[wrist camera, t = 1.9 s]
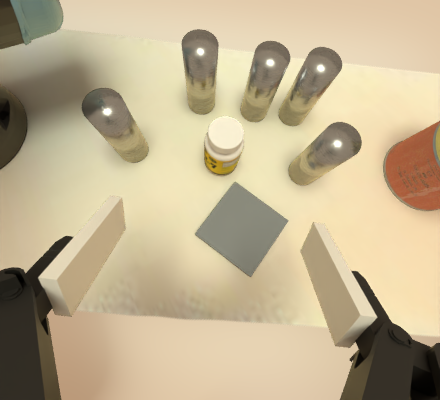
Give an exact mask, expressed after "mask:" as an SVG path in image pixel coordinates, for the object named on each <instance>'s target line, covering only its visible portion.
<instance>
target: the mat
mask: <svg viewBox="0 0 440 400" xmlns="http://www.w3.org/2000/svg"><path fill="white" fill-rule="evenodd" d="M287 222H288V220H287V219H285V218H284V217H283V216H281V215H280V214H279V213H277V212H276V211H275V210H273V209H272V208H270V207H269V206H268V205H266V204H265V203H264V202H262V201H261V200H260V199H258V198H257V197H255V196H254V195H253V194H251V193H250V192H249V191H247V190H246V189H244V188H243V187H242V186H240V185H239V184H238V183H236V182H234V184H233V185H232V186H231V187H230V189H229V190H228V191H227V193H226V194H225V195H224V197H223V198H222V199H221V200H220V202H219V203H218V204H217V206H216V207H215V208H214V210H213V211H212V212H211V213H210V215H209V216H208V217H207V219H206V220H205V221H204V223H203V224H202V225H201V226H200V228H199V229H198V230H197V232H196V233H195V235H196V236H198V237H199V238H200V239H202V240H203V241H204V242H206V243H207V244H208V245H210V246H211V247H212V248H213V249H215V250H216V251H217V252H219V253H220V254H221V255H223V256H224V257H225V258H226V259H228V260H229V261H230V262H232V263H233V264H234V265H236V266H237V267H238V268H240V269H241V270H242V271H243V272H245V273H246V274H247V275H249V276H250V277H251V276H252V274H253V273H254V271H255V270H256V268H257V267H258V265H259V264H260V262H261V261H262V259H263V258H264V256H265V255H266V254H267V252H268V251H269V249H270V248H271V246H272V245H273V243H274V242H275V240H276V239H277V237H278V236H279V234H280V233H281V231H282V230H283V228H284V227H285V225H286V224H287Z"/></svg>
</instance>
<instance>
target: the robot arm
mask: <svg viewBox="0 0 440 400" xmlns="http://www.w3.org/2000/svg"><path fill="white" fill-rule="evenodd" d="M62 22H63V11H62V8H61V5H60V2H59V0H0V49H4V48H7V47H11V46H15V45H19V44H22V43H24V44H25V45H27V44H29V43H30V42H31V40H33V39H36V38H39V37H42V36H45V35H48V34H51V33H54V32H56V31H57V30H59V29H60V28H61V25H62ZM26 129H27V118H26V113H25V110H24V108H23V106H22V104H21V103H20V101H19V100H18V99H17V98H16V97H15V96H14V95H13V94H12V93H11V92H10V91H8V90H7V89H6V88H5V87H3V86H2V85H1V84H0V168H2V167H3V166H4V165H6V164H7V163H8V162H9V161H10V160H11V159H12V158H13V157H14V155H15V154H16V153H17V151H18V150H19V148H20V147H21V145H22V143H23V140H24V138H25V134H26ZM125 229H126V227H125V219H124V210H123V202H122V197H117V196H110V197H109V198H108V199H107V200H106V201H105V202H104V203H103V204H102V206H101V207H100V208H99V209H98V210H97V211H96V212H95V214H94V215H93V216H92V217H91V218H90V219H89V220H88V222H87V223H86V224H85V225H84V226H83V227H82V228H81V229H80V231H79V232H78V233H77V234H76V235H75V236H74V237H71V236H65V237H63V238H61V239H60V240H58V241H56V242H55V243H54V244H53V245H52V246H51V247H50V249H49V251H47V252H46V253H45V254H44V255H43V257H41V258H40V259H39V260H38V261H37V262H36V263H35V264H34V265H33V266H32V267H31V268H30V269H29V270H28V272H27V273H26V274H25V272H24V270H23V269H21V268H8V269H4V270H1V271H0V400H61V396H60V389H59V383H58V377H57V371H56V365H55V358H54V352H53V346H52V340H51V334H50V328H49V321H48V318H47V314H48V313H49V311H50V310H51V309H53V311H54V313H55V315H61V316H72V315H73V313H74V312H75V310H76V308H77V307H78V305H79V304H80V302H81V300H82V299H83V297H84V295H85V294H86V292H87V291H88V289H89V287H90V286H91V284H92V283H93V281H94V279H95V278H96V276H97V274H98V273H99V271H100V270H101V268H102V266H103V265H104V263H105V262H106V260H107V258H108V257H109V255H110V253H111V252H112V250H113V249H114V247H115V245H116V244H117V242H118V240H119V239H120V237H121V236H122V234H123V232H124V231H125ZM301 254H302V256H303V259H304V262H305V265H306V267H307V270H308V273H309V276H310V278H311V281H312V284H313V286H314V289H315V292H316V295H317V297H318V300H319V303H320V306H321V308H322V311H323V314H324V317H325V319H326V322H327V325H328V328H329V330H330V333H331V336H332V338H333V341H334V344H335V346H339V347H348V348H350V347H351V346H352V345H353V343H355V342H356V344H357V346H358V348H359V350H358V351H357V352H356V353H355V354H354V355H353V356H352V357H351V358H350V361H351V362H352V360H353V363H352V366H351V369H350V372H349V375H348V378H347V381H346V384H345V387H344V390H343V393H342V395H341V398H340V400H440V343H436V344H435V345H434V346H432V347H430V346H427V345H425V344H422V343H420V342H417V341H415V340H413V339H412V338H411V337H410V335H409V334H408V333H407V332H406V331H405V330H403V329H402V328H401V327H400V326H398V325H396V324H394V323H392V322H391V320H390V319H389V317H388V315H387V314H386V312H385V311H384V309H383V307H382V306H381V304H380V302H379V301H378V299H377V297H376V296H375V294H374V293H373V291H372V289H370V286H369V284H368V283H367V281H366V279H365V278H364V277H363V276H362V275H360V274H359V273H358V272H357V271H351V270H350V268H349V266H348V265H347V263H346V261H345V259H344V258H343V256H342V254H341V252H340V251H339V249H338V247H337V245H336V244H335V242H334V240H333V238H332V237H331V235H330V233H329V231H328V229H327V228H326V226H325V224H323V223H315V222H313V224H312V226H311V229H310V231H309V233H308V235H307V238H306V240H305V242H304V244H303V246H302V249H301Z"/></svg>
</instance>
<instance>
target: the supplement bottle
mask: <svg viewBox="0 0 440 400" xmlns="http://www.w3.org/2000/svg"><path fill="white" fill-rule="evenodd" d="M243 138H244V129H243V127H242V125H241V123H240V122H239V121H238V120H236V119H235V118H233V117H230V116H221V117H218V118H216V119H214V120H213V121H212V122H211V124H210V125H209V128H208V132H207V134H206V136H205V141H204V156H205V157H204V160H205V165H206V167H207V169H208V170H209V171H210V172H211V173H213V174H215V175H218V176H225V175H228V174H230V173H231V172H233V171H234V169H235V168H236V166H237V163H238V161H239V158H240V155H241V153H242V150H243V147H244V139H243Z"/></svg>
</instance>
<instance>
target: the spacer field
mask: <svg viewBox="0 0 440 400" xmlns="http://www.w3.org/2000/svg"><path fill="white" fill-rule="evenodd" d="M182 52H183V60H184V69H185V78H186V86H187V95H188V104H189V107H190V109H191V110H192V111H193V112H195V113H197V114H207V113H209V112H210V111H212V109H213V108H214V105H215V90H216V75H217V59H218V41H217V39H216V37H215V36H214V35H213V34H212V33H210V32H208V31H206V30H193V31H190V32H188V33H187V34H186V35H185V36H184V37H183V40H182ZM289 62H290V54H289V51H288V50H287V48H286V47H285V46H284V45H282V44H280V43H278V42H275V41H266V42H263V43H261V44H260V45H258V47H257V48H256V50H255V54H254V58H253V61H252V65H251V69H250V73H249V77H248V81H247V85H246V89H245V93H244V97H243V101H242V105H241V114H242V116H243V117H244V118H245V119H246V120H248V121H250V122H259V121H261V120H262V119H263V118H264V117H265V115H266V113H267V111H268V109H269V107H270V104H271V102H272V100H273V98H274V95H275V93H276V91H277V89H278V87H279V84H280V82H281V80H282V78H283V76H284V73H285V71H286V69H287V67H288V64H289ZM341 68H342V61H341V58H340V57H339V55H338V54H337V53H336V52H335V51H333V50H332V49H329V48H325V47H318V48H315V49H313V50H312V51H311V52H310V53H309V54H308V56H307V58H306V60H305V62H304V64H303V66H302V68H301V69H300V71H299V73H298V75H297V77H296V79H295V81H294V83H293V85H292V86H291V88H290V90H289V92H288V94H287V96H286V98H285V100H284V102H283V103H282V105H281V107H280V109H279V117H280V119H281V121H282V122H283V123H285V124H286V125H289V126H296V125H299V124H300V123H301V122H302V121H303V120H304V118H305V117H306V116H307V114H308V113H309V112H310V110H311V109H312V108H313V106H314V105H315V104H316V102H317V101H318V100H319V99H320V97H321V96H322V95H323V93H324V92H325V91H326V89H327V88H328V87H329V85H330V84H331V83H332V81H333V80H334V79H335V77H336V76H337V75H338V73H339V72H340V71H341ZM82 111H83V114H84V116H85V117H86V118H87V119H88V120H89V121H90V123H91V124H92V125H93V126H94V127H95V128H96V129H97V130H98V131H99V132H100V134H101V135H102V136H103V137H104V138H105V139H106V140H107V141H108V142H109V143H110V145H111V146H112V147H113V148H114V149H115V150H116V151H117V152H118V153H119V155H120V156H121V157H122V158H123V159H124V160H126V161H128V162H131V163H135V162H139V161H141V160H143V159H144V158H145V157H146V156H147V154H148V144H147V142H146V141H145V139H144V137H143V135H142V133H141V132H140V130H139V128H138V126H137V124H136V122H135V121H134V119H133V117H132V115H131V113H130V112H129V110H128V108H127V106H126V104H125V102H124V101H123V99H122V97H121V96H120V94H119V93H117V92H116V91H114V90H112V89H109V88H99V89H96V90H93V91H92V92H90V93H89V94H88V95H87V96H86V97H85V98H84V100H83V103H82ZM361 143H362V142H361V137H360V135H359V133H358V131H357V130H356V129H355V128H354V127H353V126H351V125H349V124H347V123H343V122H336V123H333V124H331V125H330V126H328V127H327V128H326V129H325V130H324V131H323V132H322V133H321V134H320V135H319V136H318V137H317V138H316V139H315V140H314V141H313V142H312V143H311V144H310V145H309V146H308V147H307V148H306V149H305V150H304V151H303V152H302V153H301V154H300V155H299V156H298V157H297V158H296V159H295V160H294V161H293V162H292V163H291V165H290V167H289V176H290V178H291V179H292V180H293V181H294V182H295V183H296V184H299V185H308V184H310V183H311V182H313V181H315V180H316V179H318V178H319V177H321V176H323V175H324V174H326V173H327V172H329V171H331V170H332V169H334V168H335V167H337V166H339V165H340V164H342V163H343V162H345V161H346V160H348V159H350V158H351V157H353V156H354V155H356V154H357V153H358V152H359V150H360V148H361Z"/></svg>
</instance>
